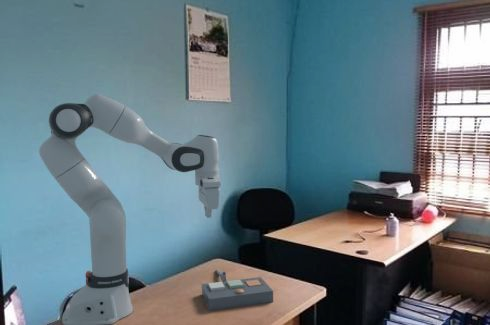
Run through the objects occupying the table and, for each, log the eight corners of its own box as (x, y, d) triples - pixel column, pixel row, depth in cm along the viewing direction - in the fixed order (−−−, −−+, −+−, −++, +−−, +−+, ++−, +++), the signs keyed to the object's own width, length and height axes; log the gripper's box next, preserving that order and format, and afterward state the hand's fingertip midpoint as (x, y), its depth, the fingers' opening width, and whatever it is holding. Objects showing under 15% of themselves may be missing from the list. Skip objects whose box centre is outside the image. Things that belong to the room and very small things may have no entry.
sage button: (230, 294, 152) (230, 286, 151) (227, 288, 156) (226, 281, 156) (243, 292, 153) (243, 284, 153) (240, 287, 158) (239, 279, 157)
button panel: (209, 310, 143) (209, 297, 143) (202, 294, 157) (201, 282, 156) (273, 301, 149) (273, 289, 149) (260, 287, 163) (260, 275, 162)
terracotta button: (249, 293, 154) (248, 286, 153) (245, 288, 158) (245, 281, 158) (262, 292, 155) (261, 284, 155) (257, 287, 160) (257, 279, 159)
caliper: (226, 289, 162) (226, 273, 162) (223, 289, 162) (223, 273, 161) (217, 271, 182) (217, 256, 181) (215, 271, 182) (215, 257, 181)
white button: (211, 296, 150) (211, 288, 149) (208, 291, 155) (208, 283, 154) (224, 294, 151) (224, 286, 151) (221, 289, 156) (221, 281, 156)
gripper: (194, 176, 162) (195, 211, 164) (203, 183, 143) (204, 223, 144) (210, 175, 164) (211, 210, 165) (222, 182, 145) (222, 222, 146)
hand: (208, 216), depth 155 cm, fingers closed
